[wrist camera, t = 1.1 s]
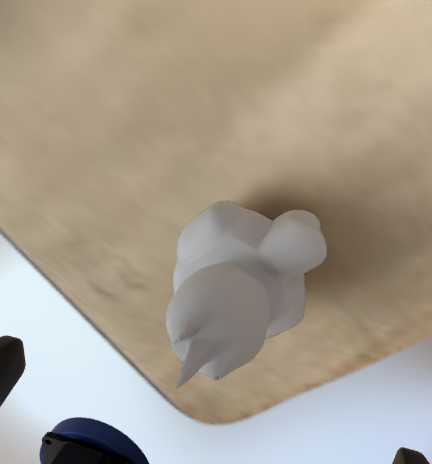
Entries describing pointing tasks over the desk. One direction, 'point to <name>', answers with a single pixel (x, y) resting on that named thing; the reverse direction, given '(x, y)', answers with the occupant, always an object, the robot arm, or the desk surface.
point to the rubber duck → (238, 284)
